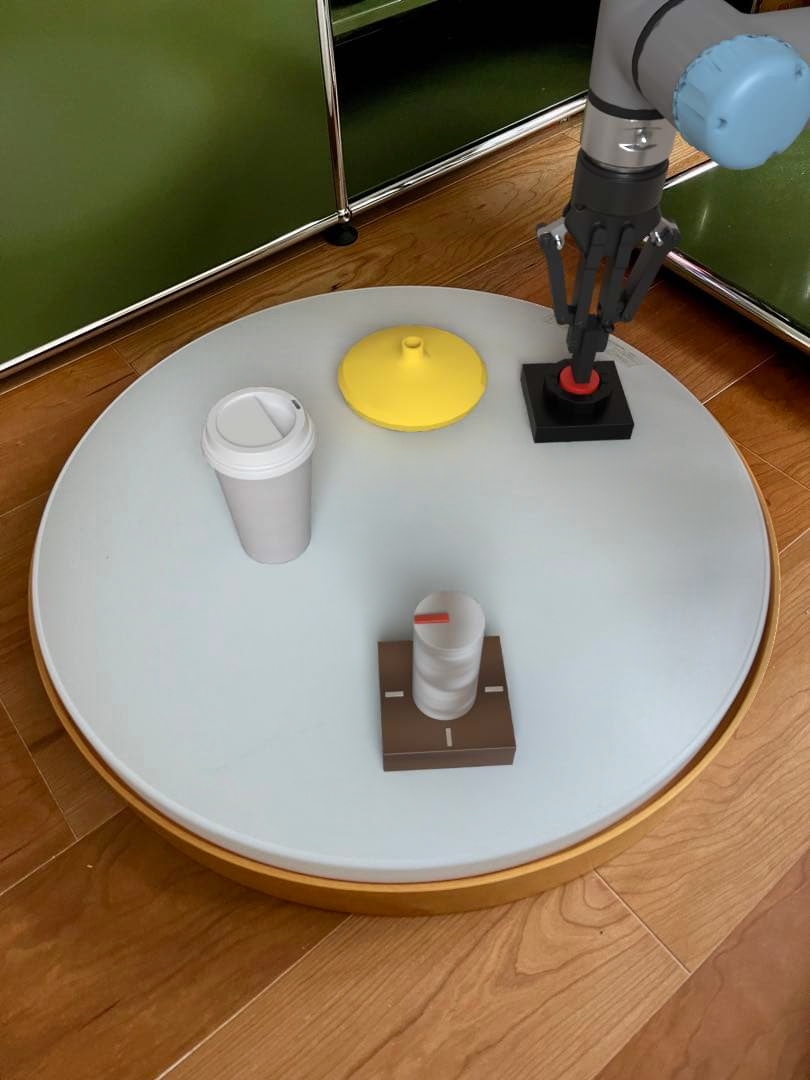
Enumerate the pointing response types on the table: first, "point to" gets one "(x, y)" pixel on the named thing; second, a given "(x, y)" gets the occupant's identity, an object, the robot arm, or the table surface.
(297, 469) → the coffee cup
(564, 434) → the black button base
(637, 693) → the table surface
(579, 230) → the robot arm
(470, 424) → the table surface
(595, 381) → the button
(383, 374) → the yellow funnel lid
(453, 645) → the tap knob
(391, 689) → the panel
